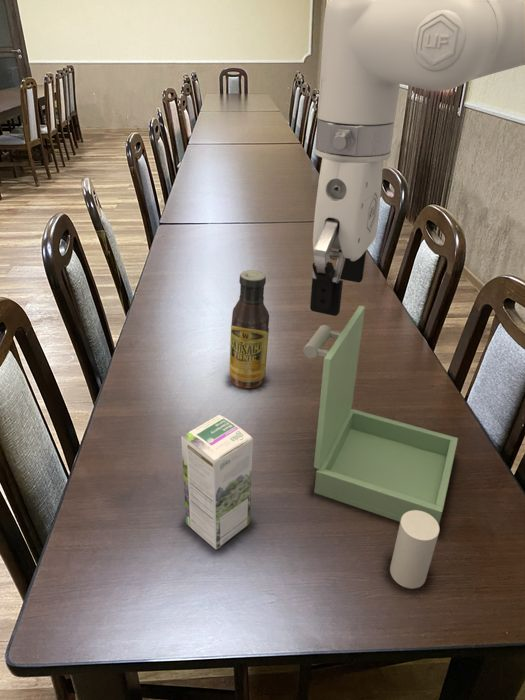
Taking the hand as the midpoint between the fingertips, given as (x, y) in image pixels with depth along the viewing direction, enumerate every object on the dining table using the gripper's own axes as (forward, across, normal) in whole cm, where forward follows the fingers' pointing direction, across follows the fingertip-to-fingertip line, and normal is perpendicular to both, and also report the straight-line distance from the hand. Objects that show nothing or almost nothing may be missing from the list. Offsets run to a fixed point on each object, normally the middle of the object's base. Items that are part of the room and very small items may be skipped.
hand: (337, 295), depth 62 cm
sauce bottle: (+26, +14, +18) cm, 35 cm away
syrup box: (+26, -16, +8) cm, 32 cm away
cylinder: (+26, -13, -15) cm, 33 cm away
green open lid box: (+26, +1, -9) cm, 28 cm away
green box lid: (+13, +2, -2) cm, 14 cm away
